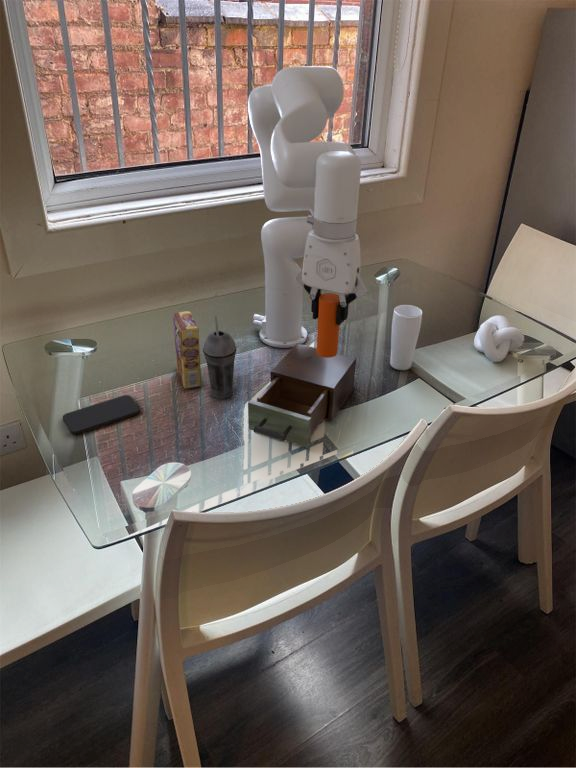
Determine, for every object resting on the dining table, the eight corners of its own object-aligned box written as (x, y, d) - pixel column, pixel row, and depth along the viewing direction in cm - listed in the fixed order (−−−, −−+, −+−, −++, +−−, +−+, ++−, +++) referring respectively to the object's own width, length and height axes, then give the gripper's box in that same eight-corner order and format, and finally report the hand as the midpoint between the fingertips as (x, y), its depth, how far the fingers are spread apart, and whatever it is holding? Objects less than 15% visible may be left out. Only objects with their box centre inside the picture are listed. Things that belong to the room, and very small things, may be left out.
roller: (312, 354, 120) (315, 299, 113) (321, 345, 123) (324, 291, 116) (332, 359, 118) (335, 304, 111) (340, 350, 121) (344, 296, 115)
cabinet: (331, 421, 129) (333, 388, 124) (270, 403, 134) (270, 371, 129) (353, 389, 139) (356, 358, 134) (296, 374, 144) (296, 343, 139)
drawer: (299, 460, 117) (299, 432, 113) (238, 440, 121) (237, 413, 118) (331, 414, 129) (333, 388, 126) (275, 398, 134) (275, 372, 130)
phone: (141, 410, 130) (71, 433, 122) (142, 413, 130) (72, 436, 123) (128, 393, 135) (60, 414, 127) (129, 396, 135) (61, 418, 128)
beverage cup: (243, 387, 139) (240, 309, 128) (230, 405, 133) (226, 325, 122) (214, 381, 141) (209, 304, 130) (200, 398, 135) (194, 319, 124)
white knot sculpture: (459, 344, 157) (465, 314, 152) (498, 338, 160) (505, 308, 155) (483, 366, 148) (491, 335, 143) (524, 359, 151) (533, 328, 146)
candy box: (203, 386, 139) (199, 328, 131) (184, 389, 138) (179, 331, 129) (194, 366, 146) (190, 310, 138) (177, 369, 145) (171, 312, 136)
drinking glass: (414, 374, 145) (422, 319, 136) (385, 371, 146) (392, 315, 138) (414, 360, 150) (423, 306, 142) (387, 357, 151) (394, 303, 143)
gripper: (282, 225, 106) (281, 317, 117) (372, 242, 100) (362, 338, 110) (301, 213, 112) (298, 302, 122) (387, 228, 106) (376, 321, 116)
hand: (329, 318), depth 116 cm, fingers closed on roller, 4 cm apart
